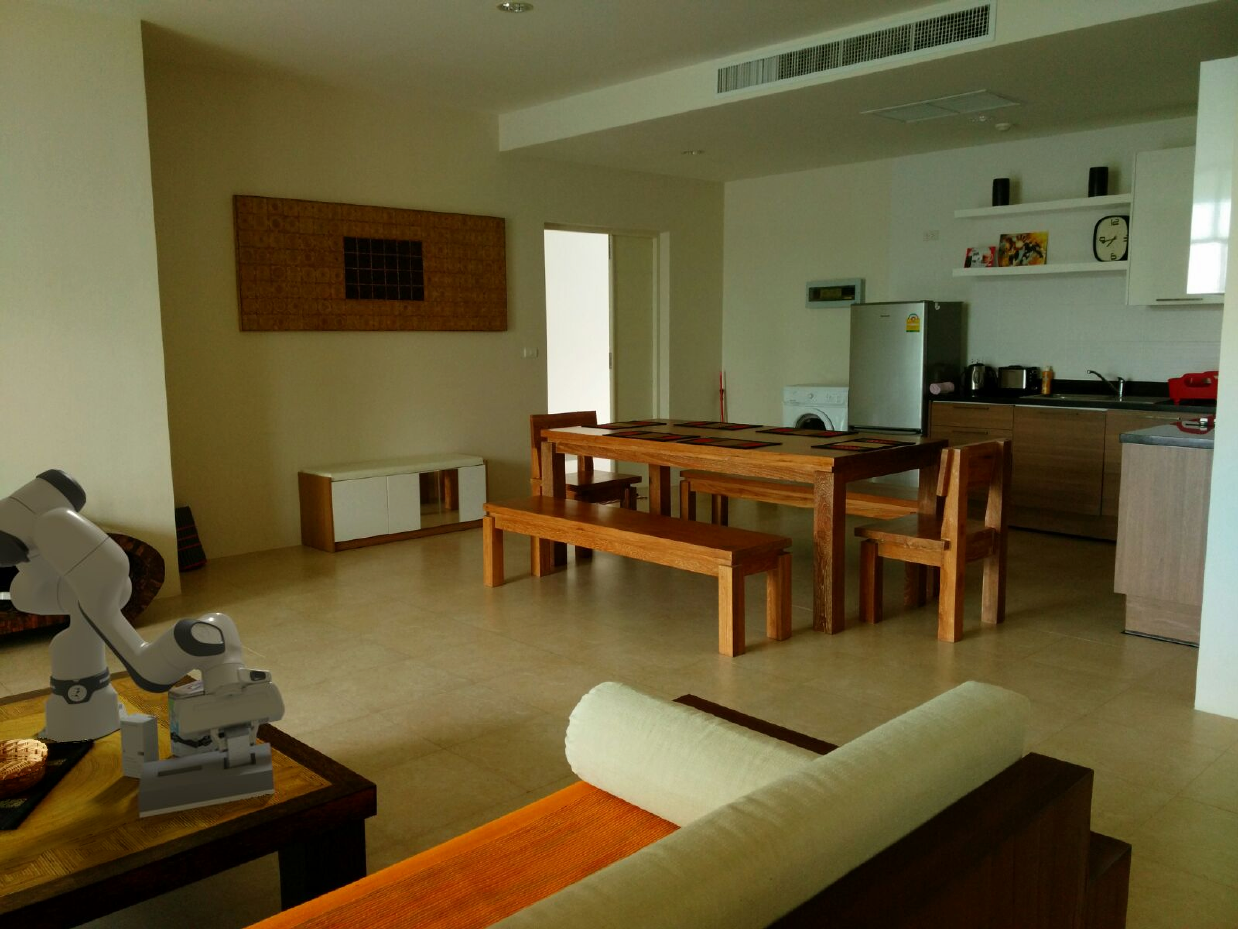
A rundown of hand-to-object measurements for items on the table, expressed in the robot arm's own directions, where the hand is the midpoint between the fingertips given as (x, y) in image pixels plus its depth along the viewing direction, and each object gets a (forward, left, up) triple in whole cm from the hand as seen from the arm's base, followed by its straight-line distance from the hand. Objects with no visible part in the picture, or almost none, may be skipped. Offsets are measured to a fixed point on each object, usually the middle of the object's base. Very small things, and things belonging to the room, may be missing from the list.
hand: (238, 748), depth 196 cm
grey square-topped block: (-1, 0, -4) cm, 4 cm away
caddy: (-1, -6, -8) cm, 10 cm away
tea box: (-23, -5, -8) cm, 25 cm away
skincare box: (-15, -19, -8) cm, 25 cm away
